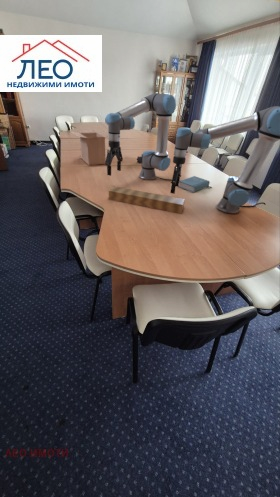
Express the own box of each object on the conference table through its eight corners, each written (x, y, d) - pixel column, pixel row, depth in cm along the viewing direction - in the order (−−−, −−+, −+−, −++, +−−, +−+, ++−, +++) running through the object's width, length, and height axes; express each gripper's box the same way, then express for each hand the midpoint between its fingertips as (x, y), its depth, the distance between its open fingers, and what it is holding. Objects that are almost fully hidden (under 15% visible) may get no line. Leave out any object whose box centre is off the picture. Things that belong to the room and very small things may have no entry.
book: (193, 181, 204) (194, 176, 201) (208, 186, 195) (209, 181, 192) (178, 186, 191) (179, 181, 188) (193, 192, 182) (195, 186, 179)
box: (116, 165, 229) (116, 136, 213) (83, 168, 214) (80, 137, 198) (102, 154, 259) (101, 128, 243) (71, 156, 244) (68, 129, 228)
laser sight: (156, 165, 237) (157, 156, 231) (135, 163, 240) (136, 153, 234) (157, 163, 245) (158, 153, 239) (137, 161, 248) (138, 151, 242)
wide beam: (108, 199, 162) (108, 190, 158) (114, 194, 169) (114, 186, 166) (181, 213, 150) (182, 204, 146) (183, 207, 158) (185, 199, 154)
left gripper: (109, 144, 136) (109, 178, 148) (128, 138, 154) (127, 169, 167) (98, 142, 138) (100, 176, 151) (118, 137, 157) (118, 167, 169)
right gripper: (182, 162, 124) (176, 197, 137) (188, 152, 144) (183, 184, 156) (169, 160, 126) (164, 195, 138) (177, 151, 145) (172, 182, 158)
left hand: (114, 172), depth 159 cm, fingers open, 13 cm apart
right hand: (174, 189), depth 147 cm, fingers open, 13 cm apart
